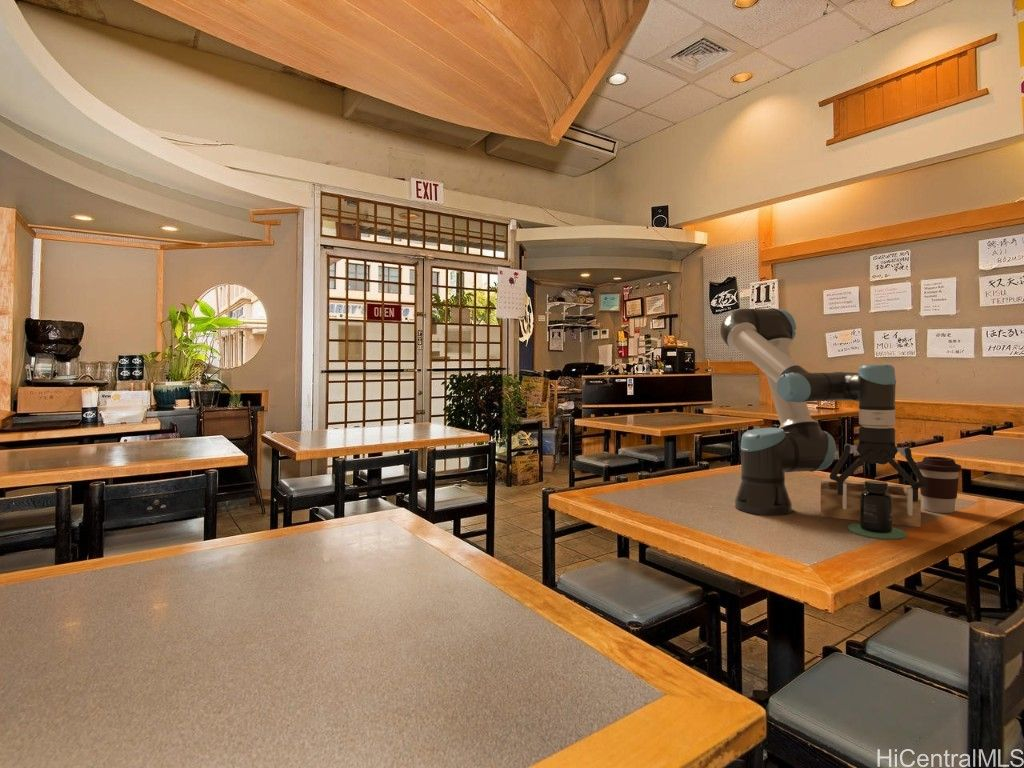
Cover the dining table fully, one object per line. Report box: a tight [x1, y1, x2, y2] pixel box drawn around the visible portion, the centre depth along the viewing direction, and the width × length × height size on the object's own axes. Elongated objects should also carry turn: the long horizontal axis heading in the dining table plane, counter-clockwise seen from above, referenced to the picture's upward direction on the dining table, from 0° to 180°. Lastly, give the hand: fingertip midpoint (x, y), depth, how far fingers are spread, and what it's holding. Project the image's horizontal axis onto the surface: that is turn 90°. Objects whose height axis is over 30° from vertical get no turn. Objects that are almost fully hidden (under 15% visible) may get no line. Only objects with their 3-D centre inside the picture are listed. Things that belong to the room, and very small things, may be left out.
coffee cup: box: [916, 456, 962, 514], centre depth 156 cm, size 10×10×15 cm
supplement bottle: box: [859, 480, 894, 533], centre depth 137 cm, size 7×7×12 cm
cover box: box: [820, 478, 922, 528], centre depth 154 cm, size 22×19×7 cm
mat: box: [847, 522, 907, 541], centre depth 137 cm, size 12×12×1 cm
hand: (876, 511), depth 136 cm, fingers open, 13 cm apart
